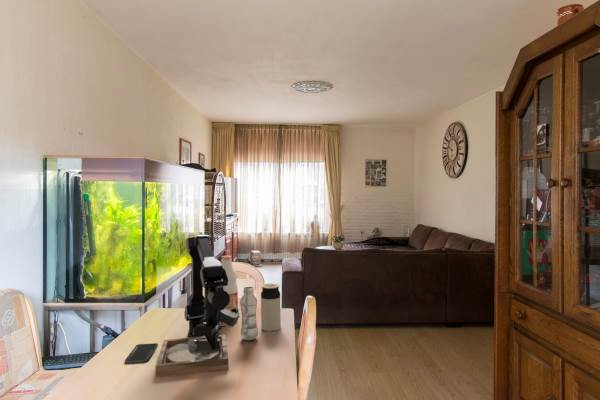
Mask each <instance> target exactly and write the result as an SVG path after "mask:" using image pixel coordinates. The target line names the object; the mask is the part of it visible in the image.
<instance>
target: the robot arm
mask: <svg viewBox="0 0 600 400" xmlns="http://www.w3.org/2000/svg"><path fill="white" fill-rule="evenodd" d="M185 248H186V249H187V251H186V252H187V253H188V255H189V256H190V258H191V263H190V265H191V266H190V267H191V273H190V275H191V279H190V281H191V287H190V288H191V290H190V291H191V292H190V295H189V297H188V298H187V300H186V304H185V308H184V313H183V314H184V319H185V321H186V322H188V330H187V337H202V336H205V337H206V339H207V341H208V342H209V344H210V346H211V348H212V349H215V348H216V344H217V341H218V337H219V335H220V333H221V331H223V329H225V328H226V325H227V326H228V327H231V328H233V327H234V326H235V325H237V323H238V320H239V319H240V317H241V316H240V312H239V307H238V308H235V307H234V308H233V309H232V310H231V311H230V309H229V310H227V309H225V307H226V306H227V305H228V304H229V302H230V296H229V294H228V293H227V292H226V291H225V290H224V287H223V286H228V283H227V282H228V277H227V274H226V270H225V269H224V267H223V266H222V264H221V263H222V261H220V260H219V259H217V258H216V256H215V255H214V254H215V253H214V252H213V248H212V246H211V238H210V235H208V234H197V235H195V236H194V235H193V236H188V238H187V239H186V240H185ZM222 279H223V281H222ZM217 281H218V282H217ZM222 323H223V324H225V325H222Z"/></svg>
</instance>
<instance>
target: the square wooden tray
mask: <svg viewBox="0 0 600 400" xmlns="http://www.w3.org/2000/svg"><path fill="white" fill-rule="evenodd" d="M226 335H227V334H219V337H218V339H221V354H220V356H219V357H217V358H210V359H200V360H195V359H194V360H191V361H181V362H172V363H169V362H168V361H167V359H166V353H167V351H168V350H169V349H170V348H171V347H173V346H175V345H177V344H180V343H184V342H188V340H189V339H192V338H199V339H206V337H205V336H191V337H183V338H173V339H163V341H162V344H161V348H160V351H159V353H158V357H157V361H156V363H155V378H164V377H171V376H180V375H190V374H200V373H207V372H216V371H226V370H229V369H230V367H229V353H228V352H229V351H228V343H227V336H226Z"/></svg>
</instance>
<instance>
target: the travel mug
mask: <svg viewBox="0 0 600 400" xmlns="http://www.w3.org/2000/svg"><path fill="white" fill-rule="evenodd" d="M260 287H261V288H262V291H261V292H260V313H261V314H260V315H261V316H260V320H261V321H260V322H261V324H260V326H261V330H263V331H265V332H276V331H278V330H280V329H282V328H281V322H282V321H281V320H282V319H281V292H280V290H279V288H280V284H278V283H276V282H275V283H273V282H270V283H263V284H261V286H260Z"/></svg>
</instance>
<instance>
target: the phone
mask: <svg viewBox="0 0 600 400" xmlns="http://www.w3.org/2000/svg"><path fill="white" fill-rule="evenodd" d="M158 347H159V343H157V342H156V343H155V342H154V343H139V344H136V345H135V346H134V348H133V349H132V350H131V352H129V354H128V355H127V356H126V358H125V359H124V363H125V364H130V363H131V364H143V363H148V362H150V360H151V358H152V357H153V355H154V354H155V352H156V350H157V349H158Z"/></svg>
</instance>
